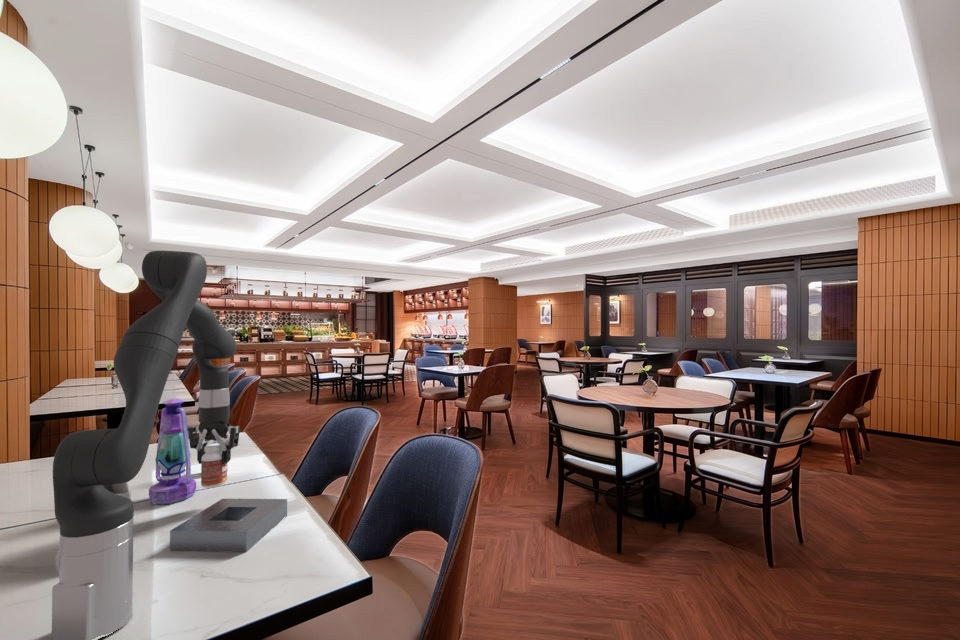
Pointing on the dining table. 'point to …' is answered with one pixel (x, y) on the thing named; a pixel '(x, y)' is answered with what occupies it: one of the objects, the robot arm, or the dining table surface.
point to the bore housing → (228, 525)
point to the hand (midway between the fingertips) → (214, 462)
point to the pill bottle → (213, 467)
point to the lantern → (172, 457)
